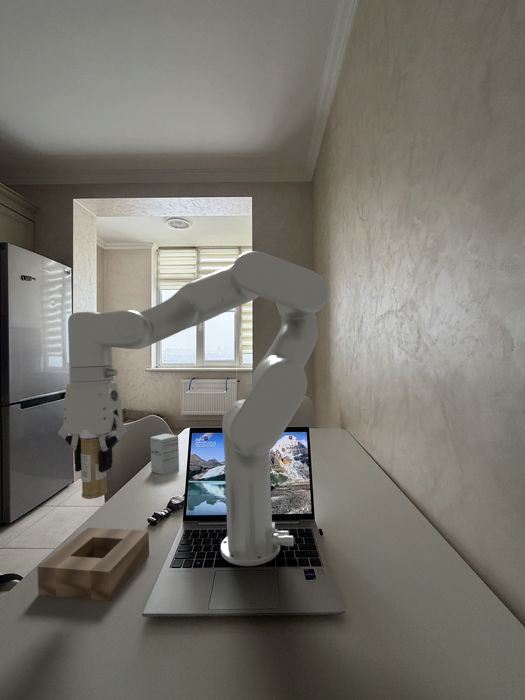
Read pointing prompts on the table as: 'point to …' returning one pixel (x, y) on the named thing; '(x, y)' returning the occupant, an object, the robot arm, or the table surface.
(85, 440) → the sprinkles bottle
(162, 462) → the supplement box
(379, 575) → the table surface
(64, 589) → the socket block
